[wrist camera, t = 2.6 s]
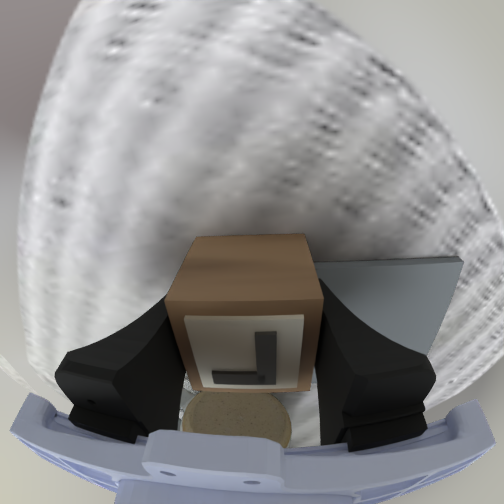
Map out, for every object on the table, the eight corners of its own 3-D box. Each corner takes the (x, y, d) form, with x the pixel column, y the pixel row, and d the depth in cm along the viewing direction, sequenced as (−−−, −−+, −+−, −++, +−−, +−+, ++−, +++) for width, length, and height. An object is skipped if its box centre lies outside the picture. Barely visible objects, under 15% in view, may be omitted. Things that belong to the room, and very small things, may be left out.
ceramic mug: (295, 379, 18) (299, 481, 11) (274, 428, 21) (272, 503, 14) (145, 357, 18) (108, 449, 11) (159, 411, 21) (139, 482, 14)
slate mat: (417, 362, 17) (419, 368, 16) (302, 377, 17) (302, 384, 17) (458, 256, 13) (463, 261, 12) (313, 262, 13) (315, 268, 13)
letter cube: (299, 316, 15) (310, 397, 10) (210, 318, 15) (191, 396, 10) (303, 232, 13) (325, 305, 8) (196, 236, 13) (160, 307, 8)
